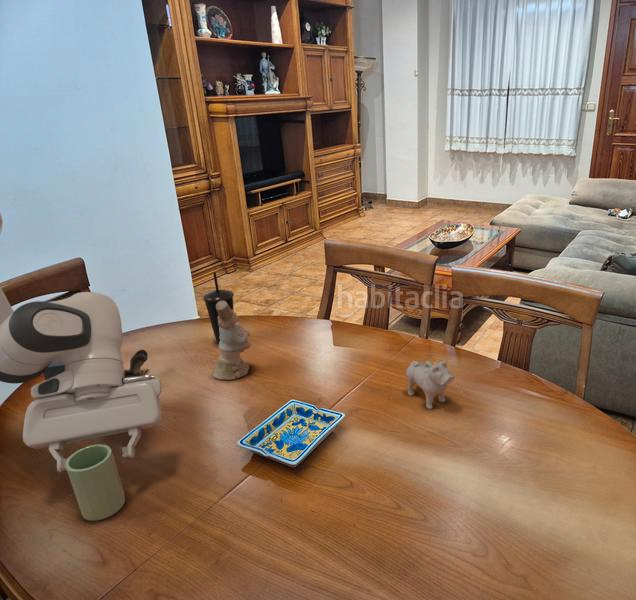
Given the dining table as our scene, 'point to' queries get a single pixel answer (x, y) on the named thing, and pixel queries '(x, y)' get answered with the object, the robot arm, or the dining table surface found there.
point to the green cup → (95, 482)
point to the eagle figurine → (137, 364)
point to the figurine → (230, 344)
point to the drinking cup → (211, 302)
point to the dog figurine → (429, 379)
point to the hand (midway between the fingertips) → (96, 464)
